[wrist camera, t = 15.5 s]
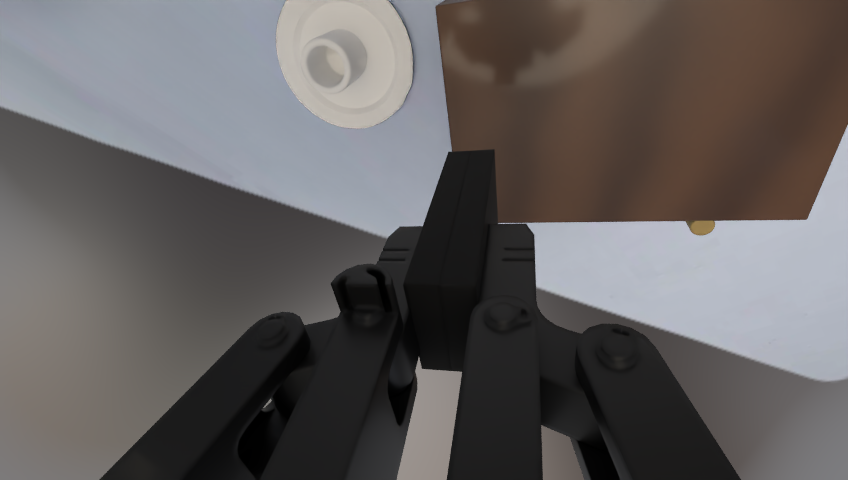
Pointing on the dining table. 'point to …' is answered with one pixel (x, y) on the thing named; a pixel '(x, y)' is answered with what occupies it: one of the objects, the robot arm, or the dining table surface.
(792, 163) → the cabinet
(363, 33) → the candle holder
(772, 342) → the dining table surface
